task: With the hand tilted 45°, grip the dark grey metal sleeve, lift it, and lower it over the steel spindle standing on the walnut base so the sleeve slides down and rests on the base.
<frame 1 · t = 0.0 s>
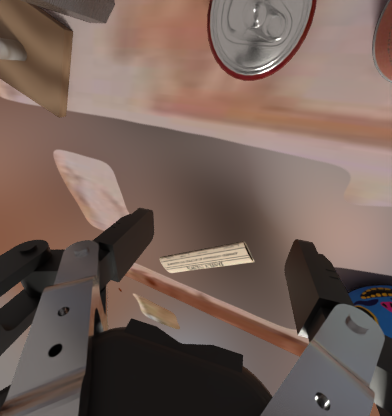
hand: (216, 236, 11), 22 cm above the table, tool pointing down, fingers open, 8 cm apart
spindle stand: (29, 51, 30), on the table
ceramic pot: (374, 295, 39), on the table
newspaper: (204, 257, 48), on the table
soda can: (257, 42, 22), on the table
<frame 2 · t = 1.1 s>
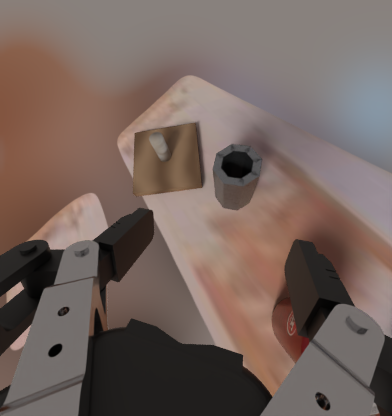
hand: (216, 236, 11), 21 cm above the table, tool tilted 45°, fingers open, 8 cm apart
spindle stand: (167, 160, 38), on the table
sleeve: (233, 193, 34), on the table
soda can: (297, 323, 27), on the table
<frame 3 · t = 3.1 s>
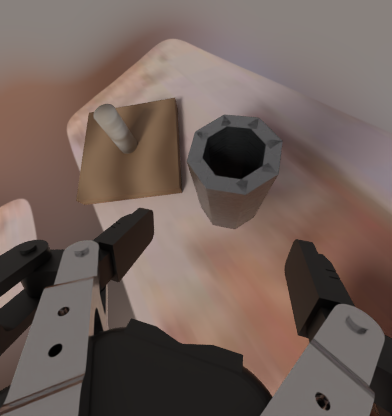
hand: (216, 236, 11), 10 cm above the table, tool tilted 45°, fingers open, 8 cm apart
spindle stand: (133, 152, 26), on the table
sleeve: (228, 202, 22), on the table
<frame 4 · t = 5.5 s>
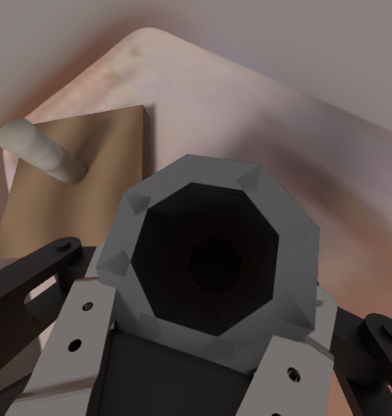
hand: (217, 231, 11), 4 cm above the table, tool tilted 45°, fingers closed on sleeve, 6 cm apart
spindle stand: (85, 181, 19), on the table
sleeve: (214, 263, 15), on the table, touching gripper
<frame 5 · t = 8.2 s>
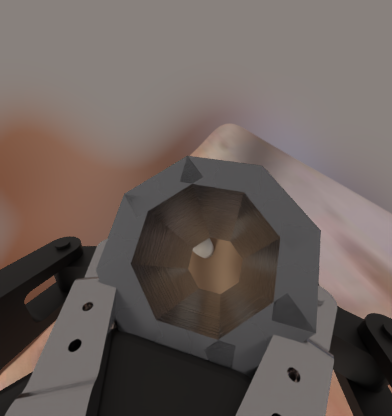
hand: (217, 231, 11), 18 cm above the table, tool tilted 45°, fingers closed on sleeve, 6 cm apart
spindle stand: (206, 250, 28), on the table
sleeve: (215, 264, 15), point 13 cm above the table, touching gripper
when the fingers open (7 cm above the table, at t = 11.4 s): sleeve drops 1 cm, resting on spindle stand.
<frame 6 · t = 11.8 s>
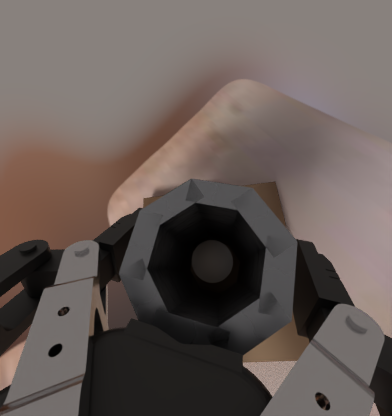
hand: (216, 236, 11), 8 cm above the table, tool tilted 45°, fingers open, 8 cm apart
spindle stand: (215, 264, 18), on the table
sleeve: (214, 266, 16), point 1 cm above the table, touching spindle stand
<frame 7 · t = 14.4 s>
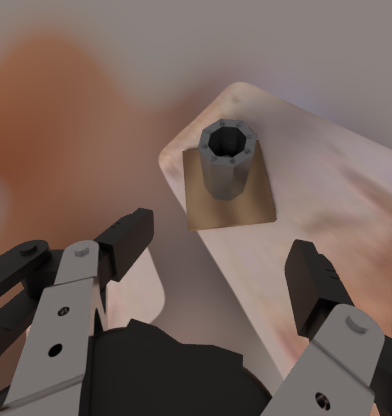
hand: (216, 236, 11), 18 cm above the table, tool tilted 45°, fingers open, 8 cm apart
spindle stand: (224, 185, 31), on the table
sleeve: (225, 182, 30), point 1 cm above the table, touching spindle stand
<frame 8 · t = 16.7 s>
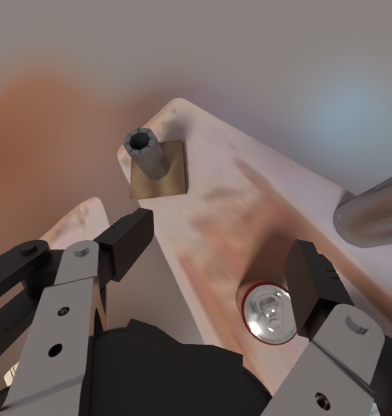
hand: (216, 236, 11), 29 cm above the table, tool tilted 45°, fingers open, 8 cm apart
spindle stand: (158, 170, 46), on the table
sleeve: (156, 168, 45), point 1 cm above the table, touching spindle stand
soda can: (255, 299, 35), on the table
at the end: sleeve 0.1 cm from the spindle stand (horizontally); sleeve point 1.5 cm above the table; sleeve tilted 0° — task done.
